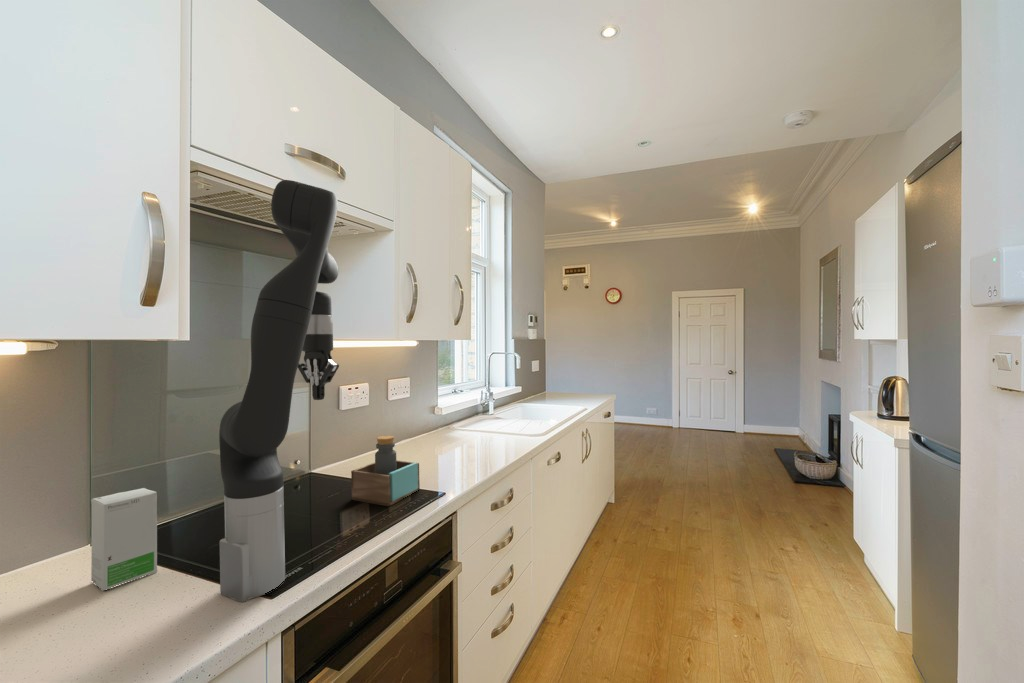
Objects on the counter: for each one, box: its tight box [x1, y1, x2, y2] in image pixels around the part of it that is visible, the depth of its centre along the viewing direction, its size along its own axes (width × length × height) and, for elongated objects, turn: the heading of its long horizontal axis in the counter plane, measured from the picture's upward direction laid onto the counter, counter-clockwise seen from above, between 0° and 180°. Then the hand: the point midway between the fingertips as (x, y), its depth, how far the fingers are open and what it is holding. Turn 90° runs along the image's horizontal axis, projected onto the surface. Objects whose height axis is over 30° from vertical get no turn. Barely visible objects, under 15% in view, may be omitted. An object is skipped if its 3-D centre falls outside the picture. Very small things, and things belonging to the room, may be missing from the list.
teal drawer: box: [389, 462, 419, 501], centre depth 125 cm, size 11×12×7 cm
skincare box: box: [90, 487, 158, 591], centre depth 83 cm, size 8×7×16 cm
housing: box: [350, 459, 421, 507], centre depth 125 cm, size 13×13×8 cm
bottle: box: [374, 435, 397, 475], centre depth 124 cm, size 6×6×15 cm
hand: (318, 399), depth 114 cm, fingers closed
